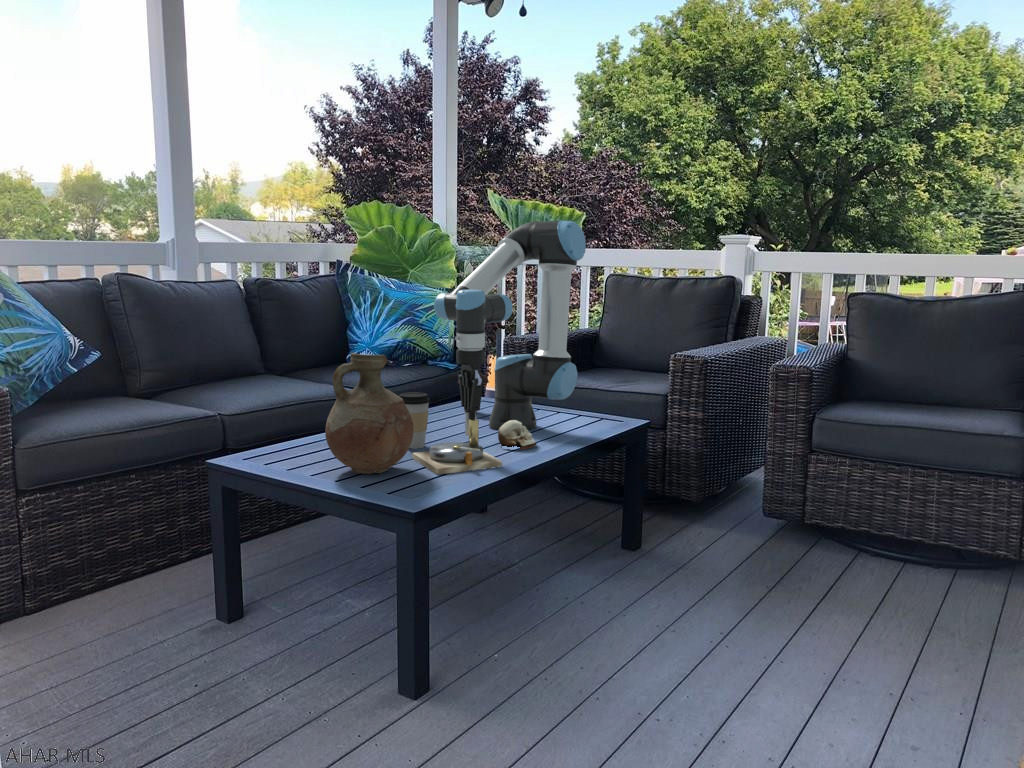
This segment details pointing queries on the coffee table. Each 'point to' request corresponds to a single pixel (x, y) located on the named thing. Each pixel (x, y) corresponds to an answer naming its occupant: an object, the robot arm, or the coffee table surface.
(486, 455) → the base plate
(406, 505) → the coffee table surface
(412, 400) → the coffee cup
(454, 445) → the turntable
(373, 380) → the jug
